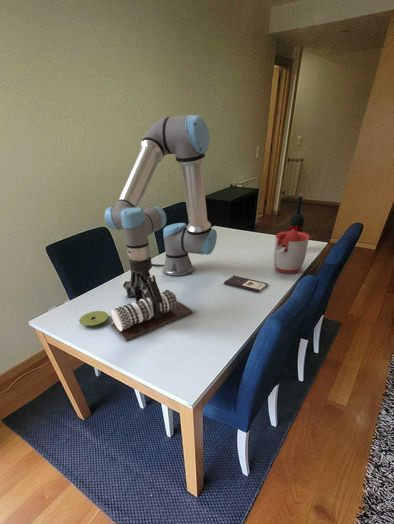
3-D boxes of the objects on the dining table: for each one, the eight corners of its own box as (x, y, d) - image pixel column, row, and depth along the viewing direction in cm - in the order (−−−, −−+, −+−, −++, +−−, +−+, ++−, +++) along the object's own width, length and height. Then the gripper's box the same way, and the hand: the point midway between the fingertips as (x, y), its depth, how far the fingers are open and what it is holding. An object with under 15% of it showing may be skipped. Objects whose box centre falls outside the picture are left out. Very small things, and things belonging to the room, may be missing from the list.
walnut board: (126, 341, 106) (125, 338, 105) (111, 326, 114) (110, 324, 113) (192, 312, 120) (192, 310, 119) (174, 301, 128) (174, 299, 127)
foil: (137, 302, 122) (122, 274, 126) (137, 315, 132) (122, 289, 135) (162, 293, 126) (147, 267, 130) (160, 306, 136) (145, 281, 140)
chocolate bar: (233, 275, 145) (267, 283, 136) (233, 277, 145) (267, 285, 136) (224, 282, 139) (258, 290, 130) (224, 283, 140) (258, 292, 131)
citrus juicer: (263, 271, 150) (267, 230, 138) (284, 261, 158) (289, 222, 146) (289, 279, 140) (295, 237, 128) (309, 269, 149) (317, 228, 137)
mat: (113, 323, 116) (111, 319, 115) (84, 332, 112) (83, 328, 110) (103, 312, 124) (102, 308, 123) (77, 320, 119) (75, 316, 118)
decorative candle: (121, 320, 101) (181, 297, 112) (109, 303, 105) (168, 282, 116) (123, 337, 109) (178, 313, 120) (111, 320, 112) (166, 299, 123)
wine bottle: (282, 253, 168) (290, 195, 150) (287, 248, 175) (295, 192, 157) (296, 255, 165) (305, 196, 147) (300, 249, 172) (310, 192, 154)
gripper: (114, 251, 107) (125, 303, 120) (148, 270, 91) (157, 327, 104) (132, 246, 111) (141, 297, 124) (168, 264, 95) (174, 320, 107)
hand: (149, 311), depth 114 cm, fingers open, 13 cm apart
